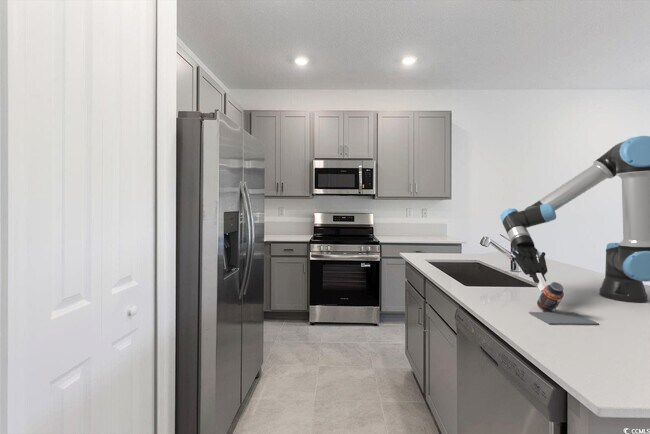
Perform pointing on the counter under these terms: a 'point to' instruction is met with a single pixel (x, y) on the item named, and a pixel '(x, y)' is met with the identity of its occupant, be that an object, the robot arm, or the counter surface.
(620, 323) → the counter surface
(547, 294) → the supplement bottle
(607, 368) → the counter surface
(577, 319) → the mat
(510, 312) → the counter surface
